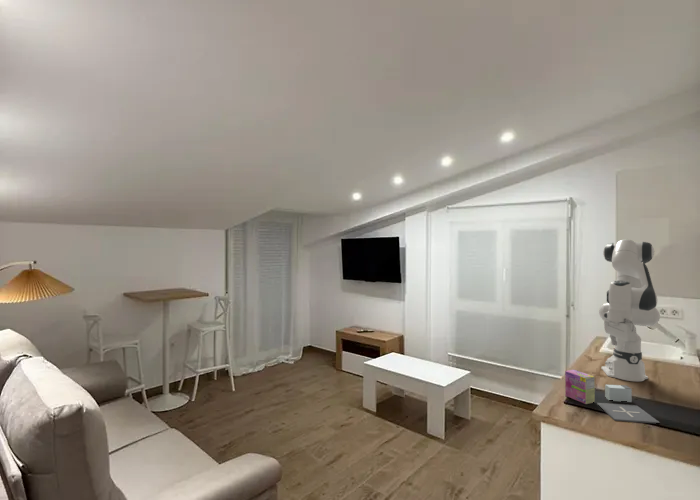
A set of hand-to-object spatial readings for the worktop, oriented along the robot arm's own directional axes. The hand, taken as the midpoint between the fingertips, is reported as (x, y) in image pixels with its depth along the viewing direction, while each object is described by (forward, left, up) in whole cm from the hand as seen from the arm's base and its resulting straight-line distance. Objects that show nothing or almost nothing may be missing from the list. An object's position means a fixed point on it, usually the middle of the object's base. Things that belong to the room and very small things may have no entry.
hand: (619, 347), depth 173 cm
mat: (+15, -4, -24) cm, 28 cm away
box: (+2, -17, -24) cm, 30 cm away
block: (0, 0, -24) cm, 24 cm away
